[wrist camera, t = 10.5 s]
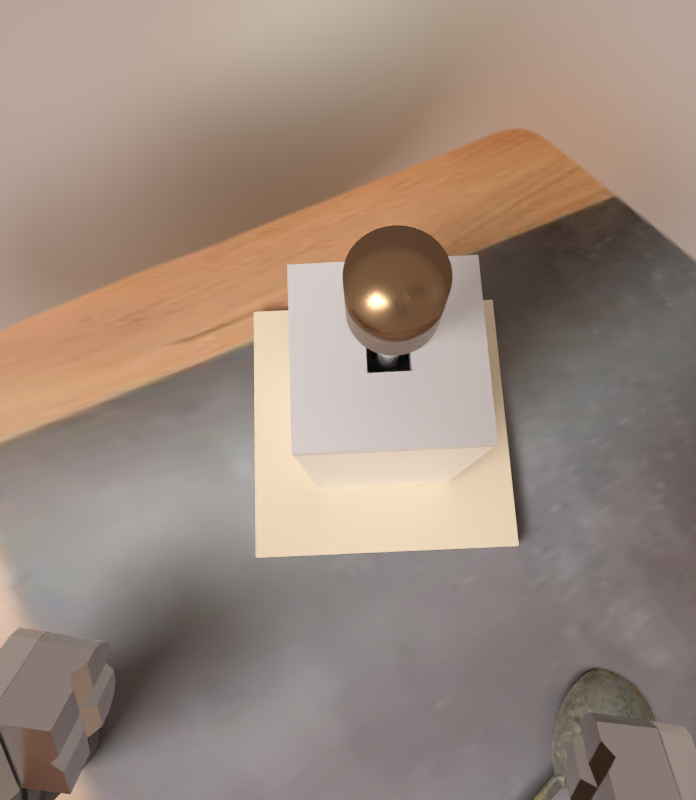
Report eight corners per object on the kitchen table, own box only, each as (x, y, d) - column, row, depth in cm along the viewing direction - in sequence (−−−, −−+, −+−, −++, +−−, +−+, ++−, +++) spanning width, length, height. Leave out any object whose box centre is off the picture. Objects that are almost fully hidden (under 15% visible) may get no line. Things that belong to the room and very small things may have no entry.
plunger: (434, 346, 39) (493, 175, 21) (443, 456, 37) (516, 372, 19) (323, 352, 39) (288, 186, 21) (327, 462, 37) (293, 383, 19)
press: (489, 305, 47) (562, 165, 30) (514, 545, 43) (617, 545, 25) (256, 317, 47) (193, 185, 30) (258, 557, 43) (187, 564, 26)
